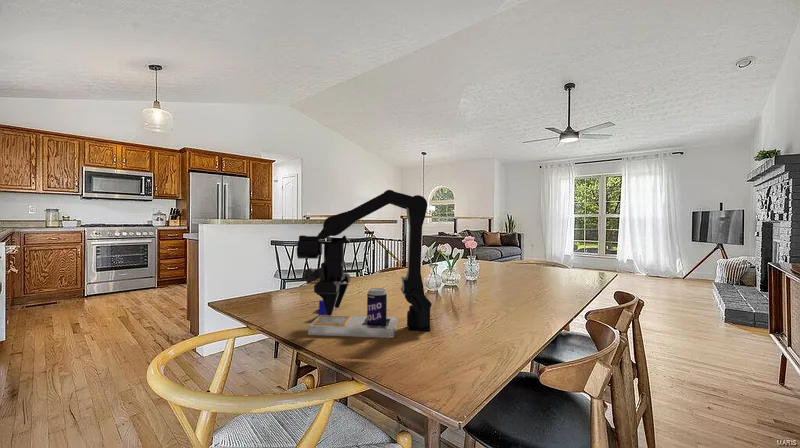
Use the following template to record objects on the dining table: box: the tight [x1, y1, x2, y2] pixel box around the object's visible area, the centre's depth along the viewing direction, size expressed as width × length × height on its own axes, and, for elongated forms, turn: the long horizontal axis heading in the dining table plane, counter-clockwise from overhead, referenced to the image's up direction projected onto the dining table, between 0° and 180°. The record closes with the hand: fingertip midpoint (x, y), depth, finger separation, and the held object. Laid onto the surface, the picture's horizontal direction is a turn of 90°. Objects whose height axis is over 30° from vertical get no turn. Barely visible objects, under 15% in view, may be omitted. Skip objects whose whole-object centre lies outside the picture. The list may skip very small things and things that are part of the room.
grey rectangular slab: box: [307, 314, 398, 339], centre depth 102 cm, size 24×12×3 cm, turn 86°
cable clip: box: [317, 299, 327, 317], centre depth 119 cm, size 12×4×6 cm, turn 2°
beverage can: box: [366, 287, 388, 326], centre depth 101 cm, size 6×6×12 cm
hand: (333, 311), depth 102 cm, fingers open, 8 cm apart
